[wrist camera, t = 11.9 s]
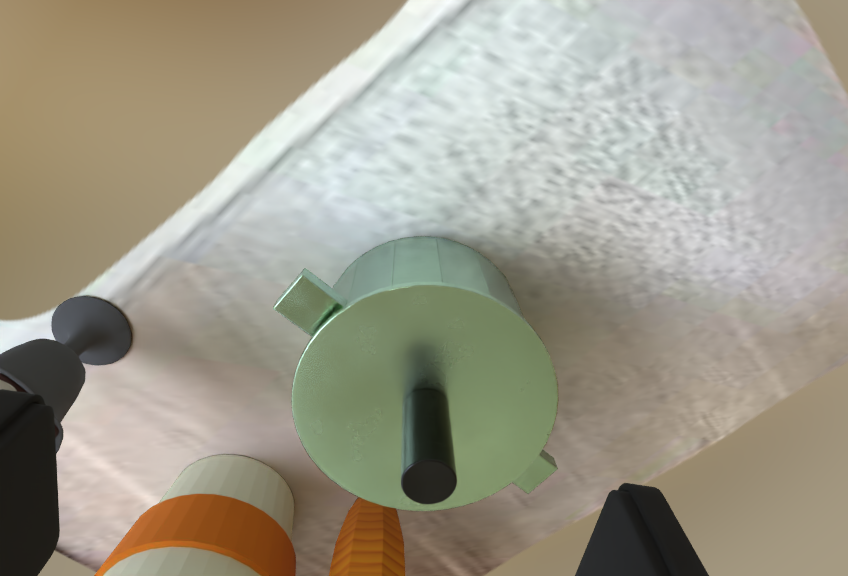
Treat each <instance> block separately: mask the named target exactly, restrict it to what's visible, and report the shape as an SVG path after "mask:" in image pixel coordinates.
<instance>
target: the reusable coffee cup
mask: <svg viewBox="0 0 848 576" xmlns="http://www.w3.org/2000/svg"><path fill="white" fill-rule="evenodd" d="M293 517H294V500H293V496H292V492H291V490H290V488H289V487H288V485H287V483H286V482H285V481H284V479H283V478H282V477H281V476H280V475H279V474H278V473H277V472H276V471H274V470H273V469H272V468H271V467H269V466H267V465H265V464H264V463H262V462H260V461H257V460H254V459H252V458H249V457H244V456H239V455H216V456H210V457H207V458H203V459H200V460H199V461H197V462H195V463H193V464H191V465H190V466H188V467H187V468H186V469H185V470H184V471H183V472H182V473H181V474H180V476H179V477H178V478H177V479H176V481H175V482H174V483H173V485H172V486H171V487H170V489H169V490H168V491H167V493H166V494H165V495H164V497H163V498H162V499H161V500H160V502H159V503H158V504H157V505H155V506H153V507H151V508H150V509H149V510H147V511H146V512H145V513H144V514H142V515H141V516H140V517H139V519H138V520H137V521H136V523H135V524H134V525H133V526H132V528H131V529H130V530H129V532H128V533H127V534H126V535H125V537H124V538H123V539H122V541H121V542H120V543H119V544H118V546H117V547H116V548H115V550H114V551H113V552H112V553H111V555H110V556H109V557H108V558H107V560H106V561H105V562H104V564H103V565H102V566H101V567H100V569H99V570H98V571H97V573H96V574H95V575H94V576H295V572H296V555H295V552H294V548H293V545H292V530H293Z"/></svg>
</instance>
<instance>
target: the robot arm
mask: <svg viewBox="0 0 848 576" xmlns="http://www.w3.org/2000/svg"><path fill="white" fill-rule="evenodd" d="M59 531H60V529H59V508H58V486H57V464H56V442H55V420H54V410H53V408H52V407H51V406H48V405H45V402H44V399H43V398H42V396H40V395H38V394H31V393H25V392H18V391H11V390H5V389H1V390H0V576H37V575H38V574H39V573H40V571H41V570H42V568H43V567H44V566H45V564H46V563H47V561H48V560H49V559H50V557H51V555H52V554H53V552H54V550H55V548H56V545H57V542H58V538H59ZM575 576H709V575H708V573H707V572H706V570H705V568H704V566H703V565H702V563H701V561H700V559H699V558H698V556H697V554H696V552H695V550H694V549H693V547H692V545H691V543H690V542H689V540H688V538H687V536H686V535H685V533H684V531H683V529H682V527H681V526H680V524H679V522H678V520H677V519H676V517H675V515H674V513H673V511H672V510H671V508H670V506H669V504H668V503H667V501H666V499H665V497H664V496H663V494H662V493H661V492H660V490H659V489H657V488H655V487H649V486H642V485H636V484H629V483H624V484H622V485H621V486H620V487H619V489H618V490H612V491H611V492H610V493H609V495H608V497H607V499H606V502H605V504H604V506H603V509H602V511H601V514H600V516H599V519H598V521H597V523H596V526H595V528H594V531H593V533H592V536H591V538H590V541H589V543H588V545H587V548H586V550H585V553H584V555H583V558H582V560H581V563H580V565H579V567H578V570H577V572H576V575H575Z"/></svg>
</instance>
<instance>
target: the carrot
mask: <svg viewBox="0 0 848 576" xmlns="http://www.w3.org/2000/svg"><path fill="white" fill-rule="evenodd" d="M329 576H405V557H404V541H403V536H402V531H401V526H400V522H399V518H398V514H397V510H396V509H395V508H390V507H385V506H382V505H378V504H375V503H372V502H369V501H367V500H364V499H362V498H360V497H359V498H358V499H357V500H356V501H355V503H354V504H353V506H352V507H351V509H350V510H349V511H348V514H347V516H346V518H345V521H344V523H343V525H342V528H341V531H340V533H339V536H338V539H337V541H336V544H335V549H334V554H333V558H332V563H331V567H330V572H329Z"/></svg>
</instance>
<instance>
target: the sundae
mask: <svg viewBox="0 0 848 576" xmlns="http://www.w3.org/2000/svg"><path fill="white" fill-rule="evenodd" d="M52 332H53V335H54V337H55V339H56V341H54V340H49V339H36V340H32V341H29V342H26V343H24V344H21V345H19V346H16V347H14V348H12V349H10V350H8V351H6V352H4V353H2V354H0V390H1V389H5V390H11V391H18V392H25V393H31V394H38V395H40V396H42V398H43V399H44V402H45V405H48V406H51V407H52V408H53V410H54V420H55V442H56V453H57V452H58V450H59V448H60V445H61V443H62V440H63V428H62V426H61V423H60V422H61V421H62V419H63V418H64V416H65V415H66V413H67V412H68V410H69V409H70V407H71V406H72V404H73V403H74V401H75V400H76V398H77V396H78V394H79V392H80V390H81V388H82V386H83V384H84V382H85V368H84V366H83V364H82V363H86V364H91V365H106V364H111V363H114V362H116V361H118V360H119V359H121V358H122V357H124V355H125V354H126V353H127V351H128V349H129V347H130V344H131V331H130V328H129V325H128V323H127V321H126V319H125V318H124V317H123V315H122V314H121V313H120V312H119V311H118V310H117V309H116V308H115V307H113V306H112V305H110V304H109V303H107V302H105V301H103V300H101V299H97V298H93V297H87V296H82V297H74V298H70V299H68V300H66V301H64V302H63V303H62V304H60V305H59V306H58V307H57V309H56V310H55V312H54V314H53V316H52Z"/></svg>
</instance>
